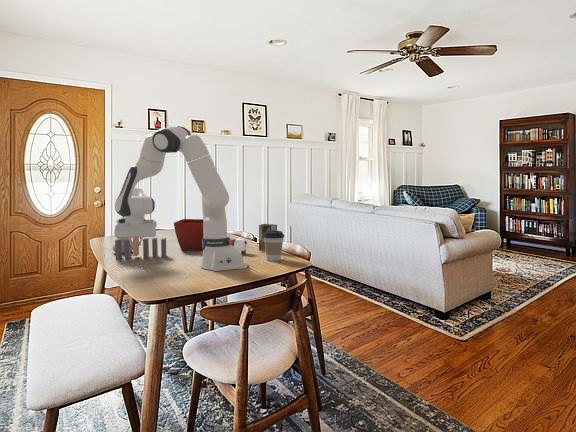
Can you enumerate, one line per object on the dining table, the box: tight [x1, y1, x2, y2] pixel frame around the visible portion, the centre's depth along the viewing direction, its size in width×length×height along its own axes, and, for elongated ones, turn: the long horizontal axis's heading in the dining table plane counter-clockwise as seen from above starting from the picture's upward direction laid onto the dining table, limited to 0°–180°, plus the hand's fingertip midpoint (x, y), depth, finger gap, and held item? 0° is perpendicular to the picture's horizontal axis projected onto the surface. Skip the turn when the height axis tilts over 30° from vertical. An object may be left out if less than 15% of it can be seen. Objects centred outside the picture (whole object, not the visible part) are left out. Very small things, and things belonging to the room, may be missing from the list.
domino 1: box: [114, 238, 123, 260], centre depth 188 cm, size 2×5×10 cm, turn 13°
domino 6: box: [160, 237, 167, 259], centre depth 193 cm, size 2×5×10 cm, turn 13°
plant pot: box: [173, 218, 204, 251], centre depth 217 cm, size 19×19×17 cm
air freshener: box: [112, 237, 133, 255], centre depth 202 cm, size 11×8×10 cm
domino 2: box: [124, 239, 132, 260], centre depth 189 cm, size 2×5×10 cm, turn 14°
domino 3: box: [132, 237, 140, 257], centre depth 190 cm, size 2×5×10 cm, turn 13°
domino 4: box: [142, 237, 150, 260], centre depth 191 cm, size 2×5×10 cm, turn 13°
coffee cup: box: [263, 230, 285, 262], centre depth 189 cm, size 11×11×15 cm
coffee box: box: [258, 223, 278, 253], centre depth 210 cm, size 9×6×16 cm
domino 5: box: [151, 237, 159, 259], centre depth 192 cm, size 2×5×10 cm, turn 13°
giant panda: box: [227, 236, 248, 256], centre depth 204 cm, size 15×6×10 cm, turn 82°
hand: (135, 245), depth 190 cm, fingers closed on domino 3, 2 cm apart
